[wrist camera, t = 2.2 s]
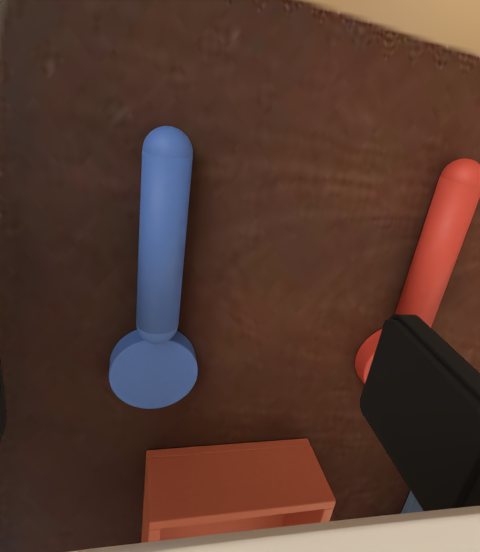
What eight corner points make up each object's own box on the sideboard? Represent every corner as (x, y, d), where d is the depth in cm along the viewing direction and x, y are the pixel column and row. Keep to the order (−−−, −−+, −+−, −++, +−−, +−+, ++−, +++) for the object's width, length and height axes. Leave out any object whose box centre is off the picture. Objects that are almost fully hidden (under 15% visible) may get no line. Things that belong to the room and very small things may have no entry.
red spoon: (416, 150, 21) (442, 159, 19) (492, 158, 22) (523, 167, 20) (346, 385, 27) (361, 408, 25) (408, 382, 28) (427, 404, 26)
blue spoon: (111, 116, 17) (109, 123, 16) (220, 128, 18) (229, 136, 17) (109, 395, 23) (107, 423, 22) (191, 391, 24) (195, 417, 23)
